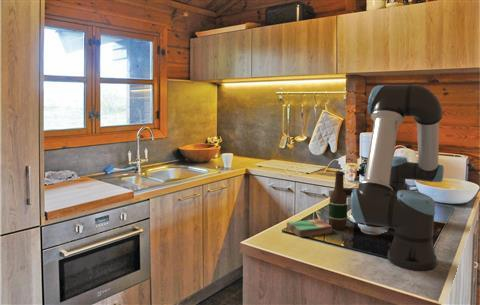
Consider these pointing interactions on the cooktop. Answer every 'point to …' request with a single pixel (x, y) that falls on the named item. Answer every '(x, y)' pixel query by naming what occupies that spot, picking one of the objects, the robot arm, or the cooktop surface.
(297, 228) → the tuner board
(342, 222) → the beer bottle
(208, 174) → the cooktop surface
